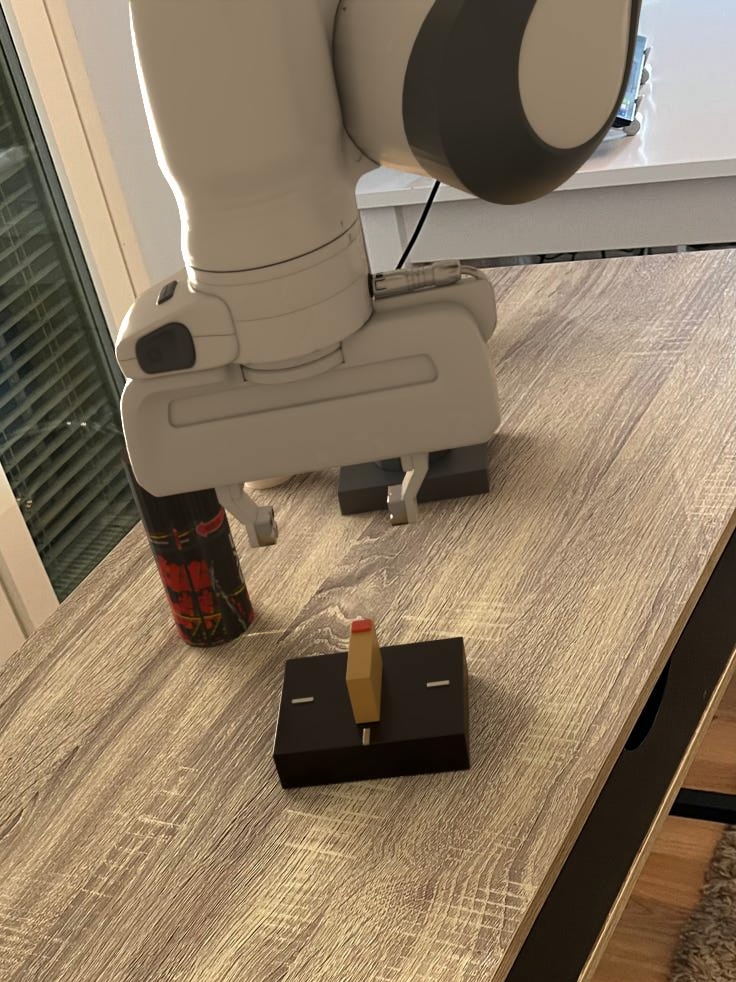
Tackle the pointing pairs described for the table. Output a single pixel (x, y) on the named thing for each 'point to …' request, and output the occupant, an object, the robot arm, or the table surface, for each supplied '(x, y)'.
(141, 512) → the deodorant
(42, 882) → the table surface
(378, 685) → the lock knob
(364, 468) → the bell box
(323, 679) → the black flat block
